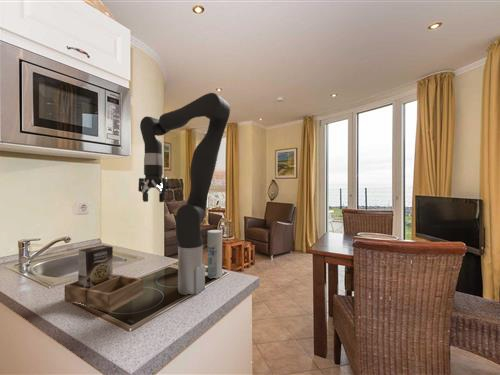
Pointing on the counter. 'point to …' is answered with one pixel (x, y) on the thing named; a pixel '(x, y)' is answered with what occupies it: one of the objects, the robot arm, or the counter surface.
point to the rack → (106, 293)
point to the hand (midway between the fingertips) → (153, 201)
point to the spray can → (214, 253)
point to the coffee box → (95, 266)
